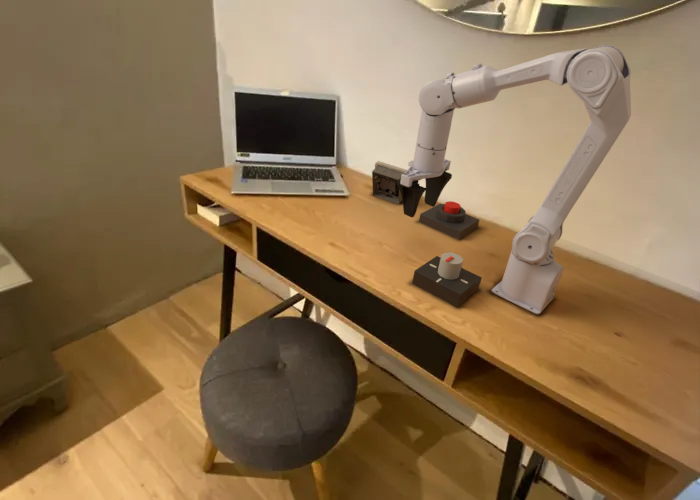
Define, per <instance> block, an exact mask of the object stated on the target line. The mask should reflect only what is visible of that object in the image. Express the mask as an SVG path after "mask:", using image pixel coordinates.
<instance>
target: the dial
mask: <svg viewBox="0 0 700 500" xmlns="http://www.w3.org/2000/svg"><path fill="white" fill-rule="evenodd" d="M440 258H441V259H440V264H439V268H438V274H439V275H440V276H441V277H443V278H445V279H449V280H454V279H457V278H458V277H459V274H460V270H461V268H462V266H463V262H464V258H463V257H462V256H461V255H459V254H458V253H455V252H450V251H448V252H443V253H442V254H441V255H440Z"/></svg>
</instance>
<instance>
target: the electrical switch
mask: <svg viewBox="0 0 700 500" xmlns="http://www.w3.org/2000/svg"><path fill="white" fill-rule="evenodd" d="M407 170H408V169H405V168H403V167H399V166H396V165H394V164H393V165H392V164H389V163H386V162H383V161H380V160H378V161H376V162H375V163H374V169H372V170H371V178H372V180H371V182H372V183H371V184H372V196H374V197H375V198H380V199H383V200H386V201H389V202H392V203H394V204H396V205H397V204H398V205H399V204H400V203H402V202H403V201H402V196H401V192H400V190H399V188H398V186H397V181H398V179H400V178H401V175H402V174H404V173H405V172H406V171H407Z"/></svg>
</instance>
